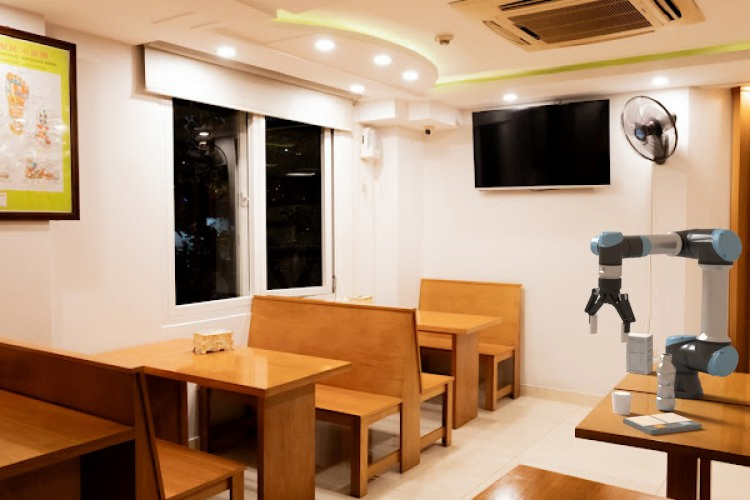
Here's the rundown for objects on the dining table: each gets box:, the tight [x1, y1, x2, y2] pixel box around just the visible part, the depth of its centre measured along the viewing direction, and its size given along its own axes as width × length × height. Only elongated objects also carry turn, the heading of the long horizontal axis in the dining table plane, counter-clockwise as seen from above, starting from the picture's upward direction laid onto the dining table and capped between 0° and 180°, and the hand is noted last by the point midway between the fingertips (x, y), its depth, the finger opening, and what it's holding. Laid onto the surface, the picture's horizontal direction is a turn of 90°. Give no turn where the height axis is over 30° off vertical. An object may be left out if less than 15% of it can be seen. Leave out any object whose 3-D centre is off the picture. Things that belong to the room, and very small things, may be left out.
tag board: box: [622, 412, 703, 436], centre depth 209 cm, size 20×13×2 cm, turn 107°
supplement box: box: [625, 332, 654, 375], centre depth 286 cm, size 10×9×17 cm
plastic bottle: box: [655, 353, 677, 412], centre depth 226 cm, size 6×7×20 cm
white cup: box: [611, 390, 633, 416], centre depth 224 cm, size 7×7×7 cm
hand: (608, 337), depth 219 cm, fingers open, 13 cm apart
